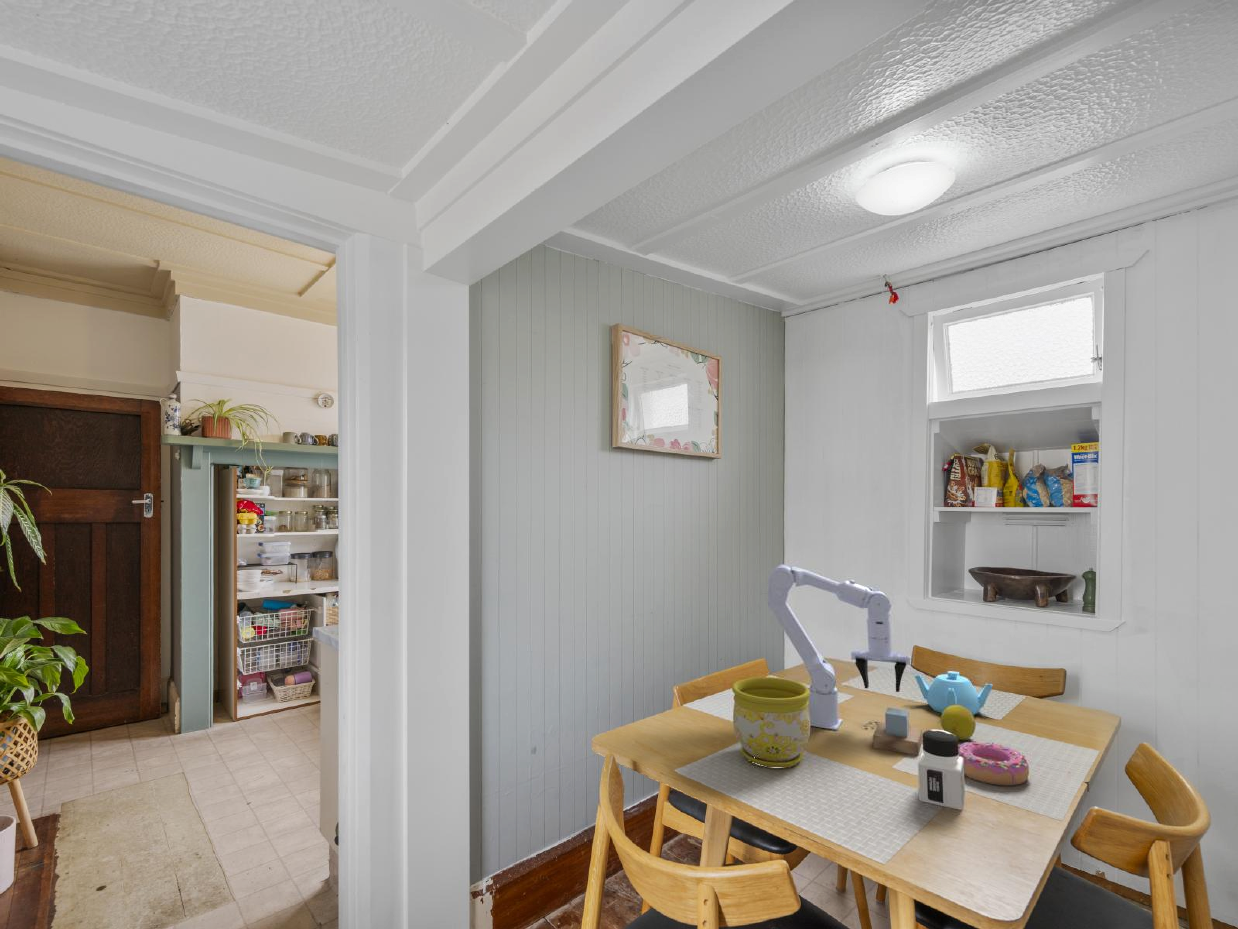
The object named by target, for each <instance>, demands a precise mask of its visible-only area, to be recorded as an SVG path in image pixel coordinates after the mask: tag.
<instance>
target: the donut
mask: <svg viewBox="0 0 1238 929" xmlns="http://www.w3.org/2000/svg"><path fill="white" fill-rule="evenodd" d="M958 749H959V757H962V758H963V759H964V776H966V777H969V778H970V779H972V780H975V781H978V782H982V783H984V782H985V784H990V785H994V784H995V786H1016V785H1020V784H1023V783H1024V782H1026V781H1027V780H1028V778H1029V774H1030V768H1029V767H1030V766H1029V763H1028V761H1027V759H1026V756H1025V755H1023V754H1021V753H1020V752H1019V751H1017V750H1016V749H1013V748H1011V747H1008V746H1005V745H1002V744H998V743H997V744H996V743H994V742H982V741H980V742H979V741H978V742H977V741H971V742H970V741H968V742H963V743H960V744H959V743H958Z"/></svg>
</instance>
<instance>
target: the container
mask: <svg viewBox="0 0 1238 929" xmlns="http://www.w3.org/2000/svg"><path fill="white" fill-rule="evenodd" d="M958 744H959V740H958V738H957V737H956V736H955V735H953V734H951V733H949V732H947V731H944V730H943V729H942V730H941V729H929V730H928V729H927V730H925V731H924V732H922V750H921V753H920V755H919V756H920V757H919V759H918V762H917V774H918V775H917V776H918V778H917V779H918V799H919V801H920V802H923V803H927V804H932V805H936V806H941V807H946V808H950V809H955V810H957V811H962V810H963V807H964V803H965V802H964V800H965V795H966V793H965V792H966V791H965V790H966V789H965V788H966V787H965V774H964V759H963V758H962V757H959V749H958Z"/></svg>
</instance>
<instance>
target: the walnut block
mask: <svg viewBox="0 0 1238 929" xmlns="http://www.w3.org/2000/svg"><path fill="white" fill-rule="evenodd" d="M922 734H923V730H922V728H917V727H911V726H909V733H908V736H907V737H901V736H895V735H889V734H886V722H880V721H879V722H878V724H877V726H876V728H875V730H874V731H873V735H872V737H873V739H872V741H873V748H875V749H881V750H885V751H886V750H887V751H892V752H897V753H904V754H908V755H915V756H920V751H921V746H922V744H923V738H922Z"/></svg>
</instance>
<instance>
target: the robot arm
mask: <svg viewBox="0 0 1238 929" xmlns="http://www.w3.org/2000/svg"><path fill="white" fill-rule="evenodd" d="M794 584H795V587H796V588H797V587H801V586H805V585H807V586H809V587H814V588H817V589H819V590H821V591H822V590H823V591H826V592H829V593H832V594H835V596H836V597H837V599H838V600H839V601H841V602H844V603H846V604H850V606H851V605H852V606H853V607H854V606H855V607H857V608H860V609H862V610H863V609H867V619H866V620H867V621H866V623H867V645H868V650H852V651H851V652H850V656H851V660H854V661H855V666H856V668H857V670H858V672H859V673H860V676H861V678H862V681H863V685H864V689H869V687H870V686H869V683H870V682H869V674H868V673H869V672H868V664H869V661H872V662H881V663H883V662H884V663H885V662H886V663H892V664H894V674H895V693H900V691H901V681H902V678H903V675H904V672H905V669H906V667H907V666H911V664H912V659H911V655H906V654H898V653H893V650H892V647H893V646H892V632H891V630H892V629H891V628H892V627H891V620H890V616H891V615H890V611H891V608H892V604H891V603H890V600H889V598H888V596H887V595H886V593H884V592H882V591H881V590H880V589H874V588H873V587H871V586H869V587H867V586H864V585H860V584H858V583H856V581H855V580H853V579H850V580H843V581H841V582H838V581H835V580H833V579H831V578H828V577H825V576H823V575H819V574H817V573H815V572H813V571H810V570H807V569H804V568H801V567H797V566H792V567H791V566H790V565H788V564H786V563H785V564H784V563H782V564H781V563H780V564H779V565H777V566H775V567H774V569H773V570H772V572H771V573H770V576H769V579H768V581H767V605H768V607H769V609H770V610H771V612H772V613H773V615H774V617H775V618H776V620H777V621H778V623H779V624H780V626H781V628H782V630H783V631H784V632H785V634H786V636H787V638H788V639H789V641H790V642H791V643H792V645H793V647H794V649H795V650H796V652H797V654H798V655H799V656H800V658H801V659H802V661H803V663H804V665H805V668H806V670H807V673H808V674H809V676H810V682H811V685H809V687H808V688H809V690H810V696H809V698H808V701H809V705H808V709H809V715H810V727H816V728H821V729H822V728H823V729H828V730H835V731H837V730H838V729H839V728H840V726H841V724H842V723H843V718H839V694H838V692H839V691H838V688H837V687H836V684H837V679H836V671H835V667H834V666H833V665H832V664H831V663H829V662H828V661H827V660H825V657H824V656H823V655H822V654H821V653H820V652H819V650H818V649H817V647H815V645H814V643H813V642H812V640H811V639H810V637H809V635H808V633H807V632H806V631H805V629H804V627H803V626H802V624H801V623H800V621H799V620H798V617H796V615H795V613H794V611H793V610H792V608H791V607H790V605H789V604H788V602H787V599H788V595H789V591H790V590H791V589H792V586H793V585H794Z"/></svg>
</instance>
